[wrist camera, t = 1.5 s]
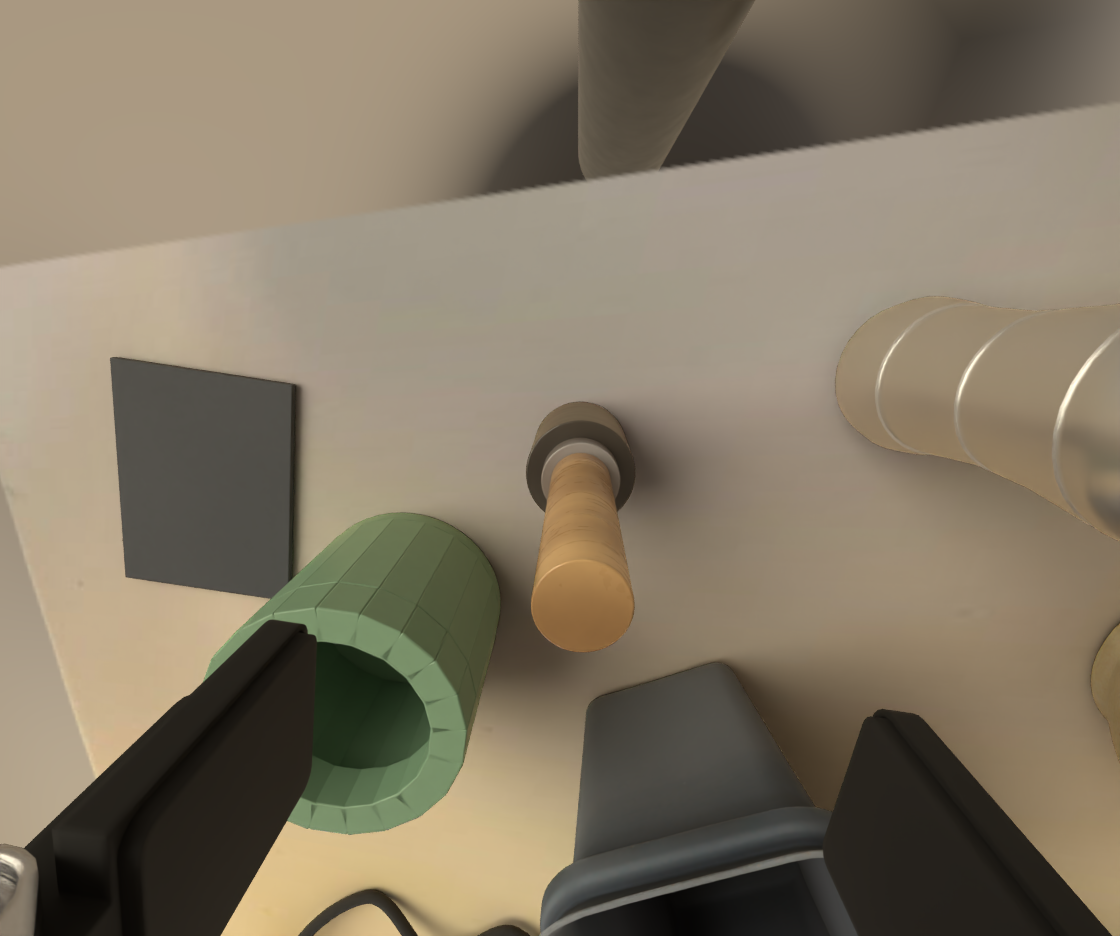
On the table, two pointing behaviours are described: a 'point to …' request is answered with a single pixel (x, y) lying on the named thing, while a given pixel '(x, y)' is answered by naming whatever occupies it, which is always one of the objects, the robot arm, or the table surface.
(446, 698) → the jar
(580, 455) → the brush
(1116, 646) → the planter bowl
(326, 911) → the cable
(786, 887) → the storage bin
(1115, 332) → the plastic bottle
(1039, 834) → the table surface
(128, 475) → the mat
